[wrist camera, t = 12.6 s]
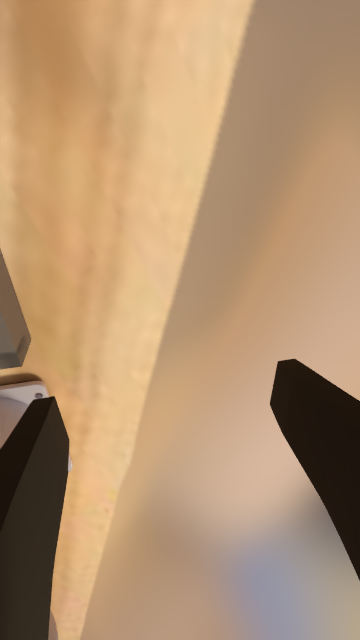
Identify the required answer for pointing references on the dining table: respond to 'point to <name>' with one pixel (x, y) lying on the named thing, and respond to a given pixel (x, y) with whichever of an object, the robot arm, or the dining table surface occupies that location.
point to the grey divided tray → (11, 323)
